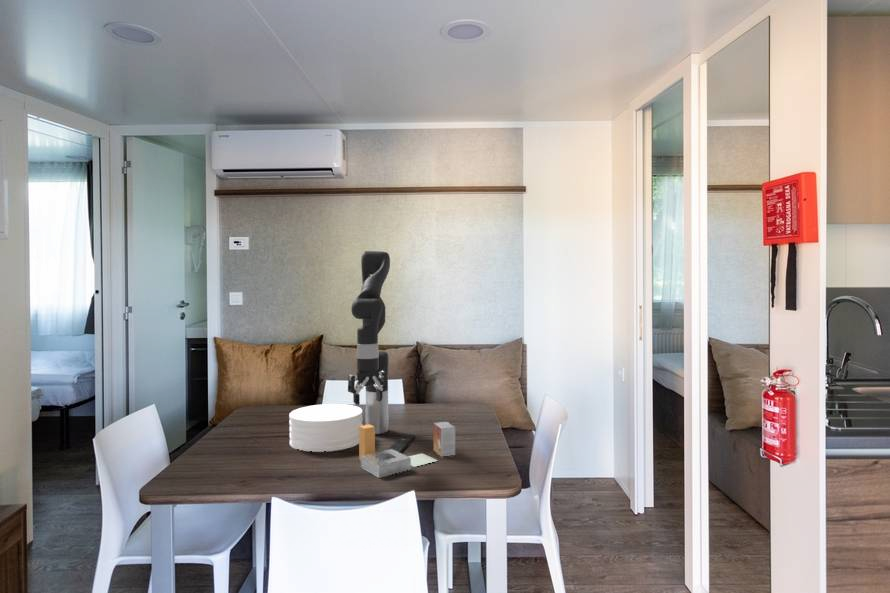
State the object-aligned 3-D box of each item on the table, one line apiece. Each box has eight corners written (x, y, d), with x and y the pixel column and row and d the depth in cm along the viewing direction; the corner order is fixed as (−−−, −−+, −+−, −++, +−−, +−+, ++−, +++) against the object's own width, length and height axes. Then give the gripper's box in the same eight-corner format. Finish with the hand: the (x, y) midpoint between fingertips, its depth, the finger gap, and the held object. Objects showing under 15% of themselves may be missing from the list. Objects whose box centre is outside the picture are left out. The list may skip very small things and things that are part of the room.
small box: (433, 451, 198) (433, 422, 198) (447, 449, 200) (447, 421, 200) (440, 457, 191) (440, 428, 191) (455, 455, 193) (455, 426, 193)
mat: (398, 459, 189) (398, 458, 189) (422, 454, 195) (422, 453, 195) (414, 467, 181) (414, 466, 181) (438, 461, 187) (438, 460, 187)
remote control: (415, 438, 216) (415, 435, 216) (398, 458, 192) (398, 454, 192) (402, 438, 217) (402, 434, 217) (384, 457, 193) (384, 453, 193)
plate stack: (346, 454, 196) (346, 422, 196) (275, 449, 201) (275, 419, 201) (372, 432, 223) (372, 405, 223) (309, 429, 229) (309, 402, 229)
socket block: (361, 467, 181) (360, 455, 181) (391, 460, 188) (391, 448, 188) (378, 477, 172) (378, 465, 171) (410, 469, 179) (410, 457, 179)
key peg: (359, 460, 189) (359, 426, 188) (369, 458, 191) (369, 424, 191) (364, 463, 185) (364, 428, 185) (375, 461, 188) (374, 426, 187)
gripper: (380, 353, 194) (380, 398, 195) (344, 357, 186) (344, 403, 186) (391, 355, 188) (391, 402, 189) (354, 359, 180) (354, 407, 180)
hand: (368, 402), depth 188 cm, fingers open, 8 cm apart
